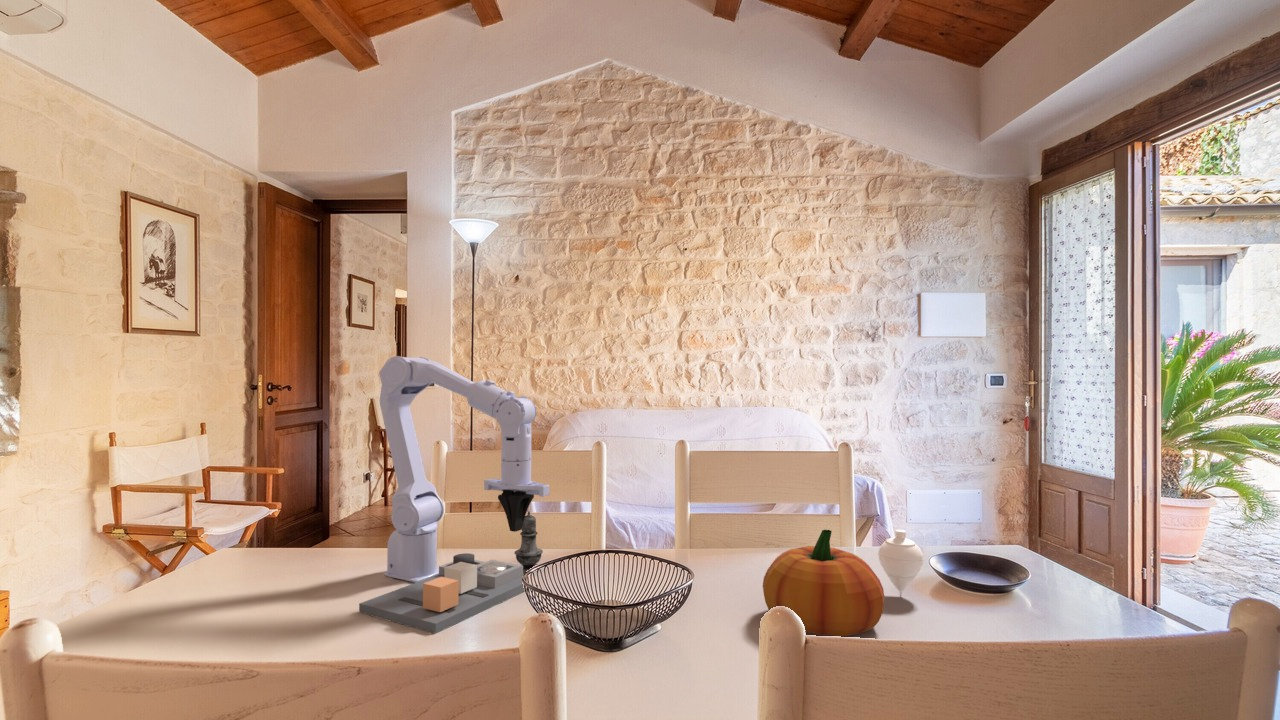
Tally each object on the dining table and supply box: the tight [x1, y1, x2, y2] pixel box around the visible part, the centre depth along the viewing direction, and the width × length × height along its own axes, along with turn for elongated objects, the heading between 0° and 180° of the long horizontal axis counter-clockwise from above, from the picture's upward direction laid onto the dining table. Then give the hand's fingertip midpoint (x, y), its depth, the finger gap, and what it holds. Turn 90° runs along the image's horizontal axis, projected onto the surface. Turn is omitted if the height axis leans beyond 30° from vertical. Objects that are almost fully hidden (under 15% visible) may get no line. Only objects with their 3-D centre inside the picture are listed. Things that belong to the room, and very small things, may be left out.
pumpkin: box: [762, 529, 885, 637], centre depth 104 cm, size 19×19×15 cm
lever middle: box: [444, 562, 477, 594], centre depth 114 cm, size 4×4×4 cm
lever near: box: [423, 577, 459, 612], centre depth 105 cm, size 4×4×4 cm
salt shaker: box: [513, 511, 544, 574], centre depth 132 cm, size 6×6×12 cm
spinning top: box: [878, 529, 924, 597], centre depth 116 cm, size 8×8×12 cm
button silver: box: [480, 563, 507, 574], centre depth 121 cm, size 5×5×2 cm
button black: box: [452, 552, 475, 564], centre depth 124 cm, size 4×4×1 cm
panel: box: [358, 559, 525, 634], centre depth 114 cm, size 18×26×4 cm
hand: (515, 530), depth 122 cm, fingers closed
